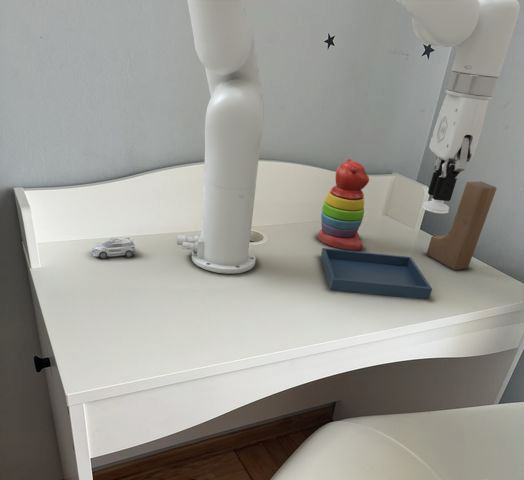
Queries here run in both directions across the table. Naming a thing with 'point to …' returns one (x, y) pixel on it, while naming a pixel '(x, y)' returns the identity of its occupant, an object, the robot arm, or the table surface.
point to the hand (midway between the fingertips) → (438, 196)
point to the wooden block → (464, 227)
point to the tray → (374, 274)
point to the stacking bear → (344, 208)
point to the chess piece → (436, 203)
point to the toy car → (114, 248)
